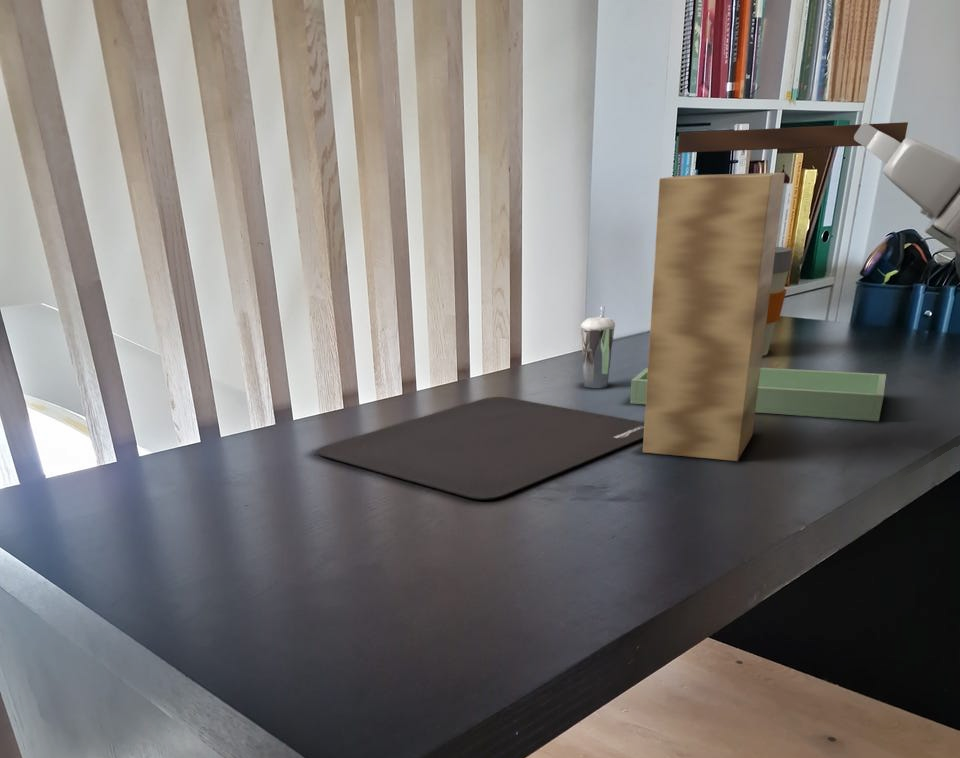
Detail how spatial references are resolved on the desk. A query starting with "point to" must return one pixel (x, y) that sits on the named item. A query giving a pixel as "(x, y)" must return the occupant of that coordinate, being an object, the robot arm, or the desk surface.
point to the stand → (709, 311)
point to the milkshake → (597, 350)
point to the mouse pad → (487, 446)
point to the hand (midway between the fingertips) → (858, 130)
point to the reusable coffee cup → (776, 292)
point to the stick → (782, 138)
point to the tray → (807, 393)
